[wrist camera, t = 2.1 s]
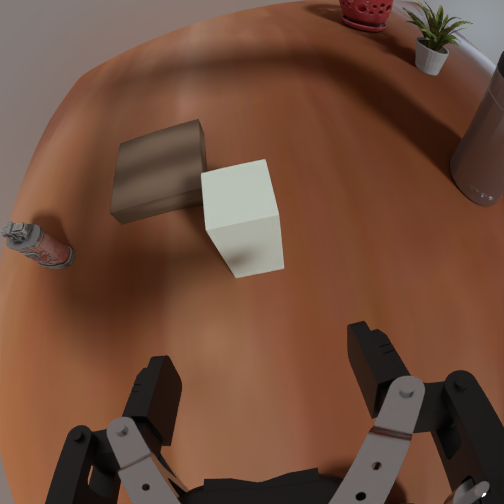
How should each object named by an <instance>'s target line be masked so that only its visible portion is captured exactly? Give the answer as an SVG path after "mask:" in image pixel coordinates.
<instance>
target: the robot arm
mask: <svg viewBox="0 0 504 504" xmlns="http://www.w3.org/2000/svg"><path fill="white" fill-rule="evenodd" d="M450 172H451V175H452V177H453V179H454V181H455V183H456V185H457V186H458V187H459V189H460V190H461V191H462V192H463V193H464V194H465V195H466V196H467V197H468V198H469V199H470V200H472V201H474V202H475V203H477V204H480V205H483V206H491V205H493V204H494V203H495V202H496V201H497V200H498V199H499V198H500V197H501V196H502V195H503V194H504V51H503V53H502V54H501V57H500V59H499V62H498V64H497V67H496V70H495V72H494V74H493V77H492V79H491V81H490V84H489V86H488V88H487V91H486V93H485V95H484V97H483V99H482V101H481V103H480V106H479V108H478V110H477V112H476V114H475V116H474V118H473V120H472V121H471V123H470V125H469V127H468V129H467V131H466V133H465V135H464V137H463V138H462V140H461V142H460V143H459V145H458V147H457V149H456V151H455V152H454V154H453V156H452V157H451V160H450ZM347 346H348V357H349V361H350V364H351V367H352V369H353V372H354V374H355V377H356V379H357V382H358V384H359V387H360V389H361V392H362V394H363V397H364V400H365V402H366V405H367V407H368V410H369V413H370V415H371V418H372V419H373V418H376V417H377V420H376V422H375V424H374V426H373V428H371V429H370V431H369V433H368V435H367V437H366V439H365V441H364V443H363V445H362V447H361V449H360V451H359V453H358V454H357V456H356V458H355V460H354V462H353V464H352V466H351V467H350V469H349V471H348V473H347V475H346V476H345V478H343V477H340V476H336V475H331V474H319V473H318V468H313V469H308V470H303V471H297V472H291V473H287V474H284V475H281V476H279V477H276V478H273V479H270V480H267V481H264V482H251V481H244V480H237V479H232V478H228V479H204V485H203V486H199V487H196V488H194V489H192V490H190V491H189V490H188V488H187V487H186V486H185V485H184V484H183V483H182V482H181V480H180V479H179V478H178V476H177V475H176V473H175V472H174V471H173V469H172V468H171V466H170V465H169V463H168V462H167V460H166V459H165V457H164V455H163V454H162V453H161V452H160V451H161V446H171V442H172V437H173V431H174V426H175V421H176V416H177V411H178V406H179V402H180V397H181V392H182V382H181V379H180V376H179V374H178V373H177V371H176V369H175V367H174V365H173V363H172V361H171V359H170V357H169V356H167V355H166V356H155V357H151V359H150V362H149V364H148V367H147V368H143V369H142V371H141V372H140V373H139V374H138V375H137V377H136V380H135V382H134V386H133V388H132V390H131V393H130V396H129V398H128V401H127V404H126V407H125V409H124V412H123V415H122V417H119V418H117V419H115V420H113V421H112V422H111V423H110V424H109V426H108V428H107V429H105V430H100V431H95V432H92V431H91V430H90V429H89V428H88V427H87V426H84V425H79V426H76V427H74V428H73V429H72V430H71V431H70V432H69V433H68V435H67V438H66V441H65V444H64V446H63V449H62V452H61V455H60V457H59V460H58V463H57V466H56V469H55V472H54V475H53V479H52V482H51V485H50V488H49V492H48V495H47V499H46V502H45V504H117V500H118V494H119V489H120V484H121V481H122V483H123V485H124V487H125V489H126V491H127V493H128V495H129V497H130V499H131V501H132V503H133V504H388V503H386V502H385V500H386V498H387V496H388V494H389V492H390V490H391V488H392V486H393V484H394V481H395V479H396V477H397V475H398V472H399V470H400V468H401V465H402V463H403V460H404V458H405V455H406V452H407V450H408V447H409V444H410V442H411V438H412V433H420V432H429V431H430V432H431V434H432V437H433V439H434V442H435V444H436V447H437V450H438V452H439V455H440V458H441V460H442V463H443V466H444V469H445V472H446V475H447V478H448V481H449V484H450V487H451V490H452V493H451V494H450V495H449V496H448V497H447V499H446V500H445V502H444V504H504V427H503V425H502V423H501V421H500V419H499V418H498V416H497V414H496V412H495V410H494V409H493V407H492V405H491V403H490V402H489V400H488V398H487V397H486V395H485V393H484V392H483V390H482V388H481V387H480V385H479V383H478V382H477V380H476V379H475V377H474V376H473V375H472V374H471V373H469V372H467V371H463V370H458V371H454V372H452V373H450V374H449V375H448V376H447V378H446V380H445V381H443V382H435V383H423V382H422V381H421V380H420V379H418V378H416V377H413V376H411V375H410V374H409V372H408V370H407V368H406V367H405V365H404V363H403V362H402V360H401V358H400V356H399V355H398V353H397V351H395V348H394V346H393V345H392V344H391V342H390V340H389V338H388V337H387V335H386V334H384V333H383V332H381V331H380V330H379V329H375V330H372V331H370V329H369V327H368V326H367V324H366V322H365V321H361V322H357V323H353V324H349V325H348V326H347ZM91 465H92V466H93V470H92V474H91V478H90V482H89V485H88V476H89V472H90V469H91Z"/></svg>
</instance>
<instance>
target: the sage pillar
mask: <svg viewBox="0 0 504 504" xmlns="http://www.w3.org/2000/svg"><path fill="white" fill-rule="evenodd" d="M201 181H202V193H203V205H204V216H205V227H206V231H207V233H208V235H209V236H210V238H211V239H212V241H213V243H214V244H215V246H216V247H217V249H218V251H219V252H220V254H221V255H222V257H223V259H224V260H225V262H226V263H227V265H228V267H229V268H230V270H231V271H232V273H233V274H234V276H235V278H239V277H244V276H249V275H254V274H259V273H264V272H269V271H274V270H279V269H284V262H283V251H282V240H281V230H280V220H279V213H278V209H277V205H276V200H275V196H274V192H273V188H272V184H271V180H270V176H269V172H268V168H267V164H266V160H265V159H264V160H259V161H254V162H249V163H244V164H240V165H235V166H230V167H226V168H222V169H217V170H213V171H209V172H205V173H201Z"/></svg>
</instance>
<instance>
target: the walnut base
mask: <svg viewBox="0 0 504 504" xmlns="http://www.w3.org/2000/svg"><path fill="white" fill-rule="evenodd" d="M205 172H207V163H206V151H205V139H204V132H203V130H202V127H201V124H200V122H199V119H197V120H193V121H189V122H186V123H182V124H179V125H175V126H172V127H169V128H165V129H162V130H159V131H156V132H153V133H150V134H147V135H144V136H141V137H138V138H135V139H132V140H130V141H127V142H124V143H121V144H120V148H119V153H118V159H117V164H116V171H115V177H114V184H113V191H112V199H111V208H110V214H111V215H112V216H113V217H114V218H115V219H116V220H118V221H119V222H120V223H121V224H125V223H129V222H132V221H136V220H140V219H143V218H147V217H151V216H155V215H159V214H162V213H166V212H170V211H174V210H178V209H182V208H186V207H190V206H195V205H199V204H203V193H202V181H201V173H205Z"/></svg>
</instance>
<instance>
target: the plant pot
mask: <svg viewBox="0 0 504 504" xmlns="http://www.w3.org/2000/svg"><path fill="white" fill-rule="evenodd" d="M339 1H340V5H341V8H342V11H343V13H344V14H343V15H342V16H341V18H342V20H343V21H344V22H345V23H346V24H347V25H349V26H351V27H353V28H356V29H360V30H364V31H369V32H380V31H383V30H385V29H386V28H387V24H386V22H385V21H386V20H387V18H388V17H389V15H390V12H391V9H392V3H393V0H353V1H351V0H339ZM366 1H369V2H370V3H367V2H366Z"/></svg>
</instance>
